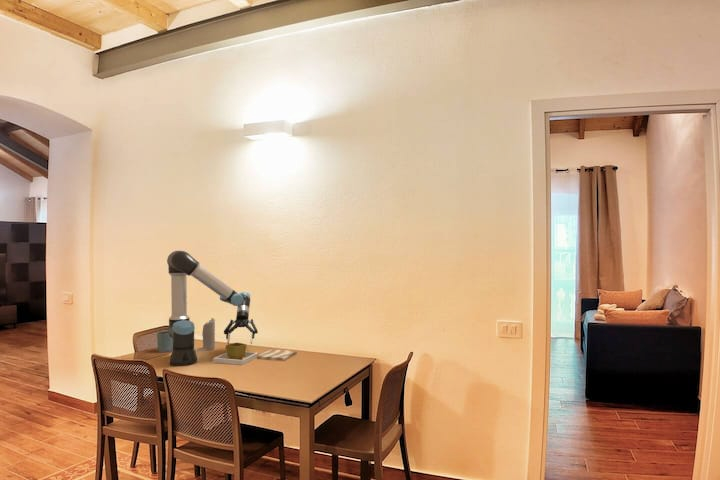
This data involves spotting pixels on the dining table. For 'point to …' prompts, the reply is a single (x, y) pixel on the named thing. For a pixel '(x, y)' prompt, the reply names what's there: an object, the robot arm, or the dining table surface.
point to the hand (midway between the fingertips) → (239, 343)
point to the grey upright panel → (208, 336)
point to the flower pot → (236, 350)
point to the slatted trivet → (277, 355)
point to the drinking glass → (164, 341)
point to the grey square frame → (233, 361)
